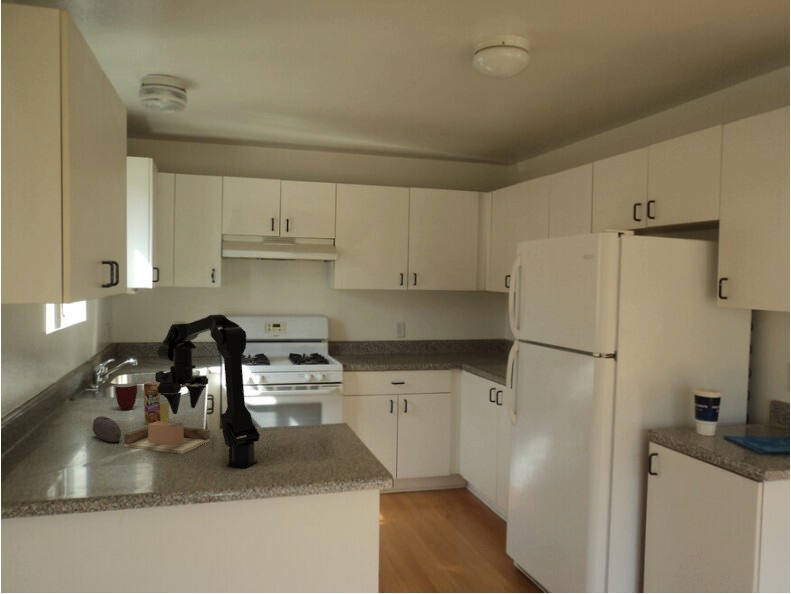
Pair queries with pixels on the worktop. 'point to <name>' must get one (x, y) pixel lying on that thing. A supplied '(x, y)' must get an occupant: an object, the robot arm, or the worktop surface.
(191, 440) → the wooden structure
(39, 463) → the worktop surface
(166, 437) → the terracotta block
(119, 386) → the mug
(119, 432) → the grey stone
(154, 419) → the candy box
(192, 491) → the worktop surface
